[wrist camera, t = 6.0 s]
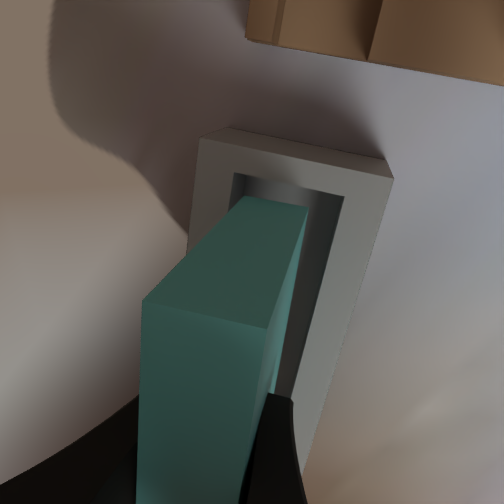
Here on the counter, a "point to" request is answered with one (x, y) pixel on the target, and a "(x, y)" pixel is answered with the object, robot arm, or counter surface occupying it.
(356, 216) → the stand
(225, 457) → the board
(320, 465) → the counter surface
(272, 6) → the rack
